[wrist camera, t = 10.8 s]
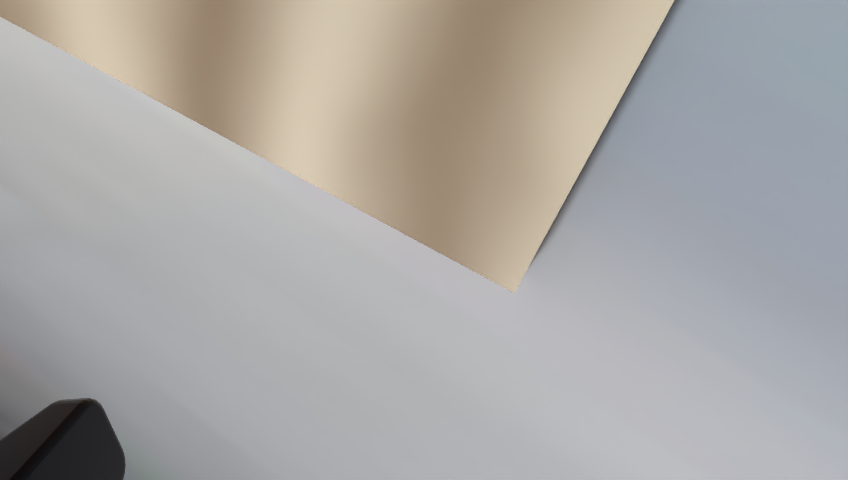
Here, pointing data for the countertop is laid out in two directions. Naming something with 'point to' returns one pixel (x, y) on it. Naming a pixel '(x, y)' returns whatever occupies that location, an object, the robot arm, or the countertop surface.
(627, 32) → the birch board
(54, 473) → the robot arm
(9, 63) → the countertop surface
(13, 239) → the countertop surface
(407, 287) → the countertop surface
